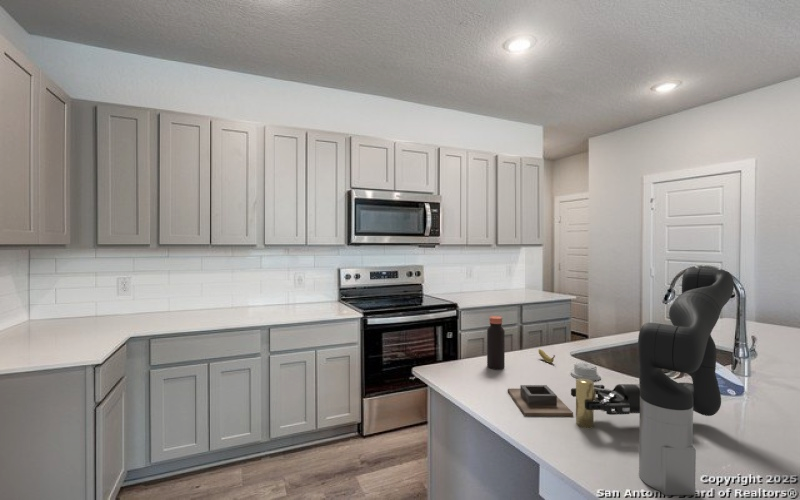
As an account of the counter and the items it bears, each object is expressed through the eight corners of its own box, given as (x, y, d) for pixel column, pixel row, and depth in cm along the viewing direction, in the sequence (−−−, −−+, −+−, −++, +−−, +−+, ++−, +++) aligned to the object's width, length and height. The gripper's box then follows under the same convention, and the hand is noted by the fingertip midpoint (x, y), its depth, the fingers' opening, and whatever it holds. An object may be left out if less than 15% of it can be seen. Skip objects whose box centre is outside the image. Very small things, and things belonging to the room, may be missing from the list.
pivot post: (596, 428, 104) (596, 384, 104) (580, 428, 104) (580, 384, 104) (588, 420, 108) (588, 378, 108) (573, 420, 108) (573, 378, 108)
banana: (536, 358, 165) (536, 348, 165) (541, 357, 166) (541, 348, 166) (551, 365, 156) (551, 355, 156) (556, 364, 156) (556, 355, 156)
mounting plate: (573, 416, 111) (573, 402, 111) (524, 416, 111) (524, 402, 111) (549, 391, 129) (549, 379, 129) (507, 391, 129) (507, 379, 129)
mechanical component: (574, 380, 139) (603, 382, 137) (574, 368, 139) (604, 370, 137) (568, 371, 149) (595, 373, 147) (568, 360, 149) (595, 361, 147)
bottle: (486, 368, 152) (486, 318, 151) (487, 363, 158) (487, 315, 158) (504, 370, 150) (504, 319, 149) (504, 365, 156) (504, 316, 156)
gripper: (622, 375, 113) (567, 376, 113) (654, 395, 98) (590, 395, 99) (622, 401, 113) (567, 401, 113) (653, 424, 99) (590, 424, 99)
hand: (578, 398), depth 106 cm, fingers open, 8 cm apart
